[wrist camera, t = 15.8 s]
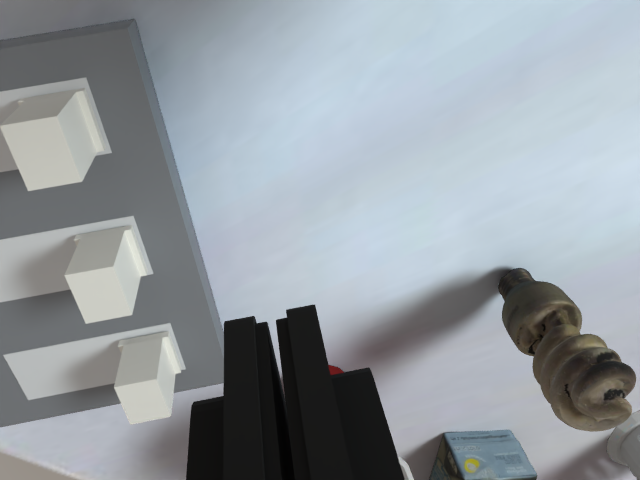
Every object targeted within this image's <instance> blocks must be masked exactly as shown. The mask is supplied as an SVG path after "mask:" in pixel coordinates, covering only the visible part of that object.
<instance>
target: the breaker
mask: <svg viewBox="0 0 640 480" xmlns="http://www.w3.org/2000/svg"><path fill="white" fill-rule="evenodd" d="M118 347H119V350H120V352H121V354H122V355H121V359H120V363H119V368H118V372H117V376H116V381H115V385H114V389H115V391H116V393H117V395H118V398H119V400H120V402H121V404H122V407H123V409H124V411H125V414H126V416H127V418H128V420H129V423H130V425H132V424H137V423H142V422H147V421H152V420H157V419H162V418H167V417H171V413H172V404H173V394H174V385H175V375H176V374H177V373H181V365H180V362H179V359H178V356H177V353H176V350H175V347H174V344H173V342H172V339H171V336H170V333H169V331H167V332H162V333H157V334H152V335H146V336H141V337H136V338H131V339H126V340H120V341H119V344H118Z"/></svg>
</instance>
